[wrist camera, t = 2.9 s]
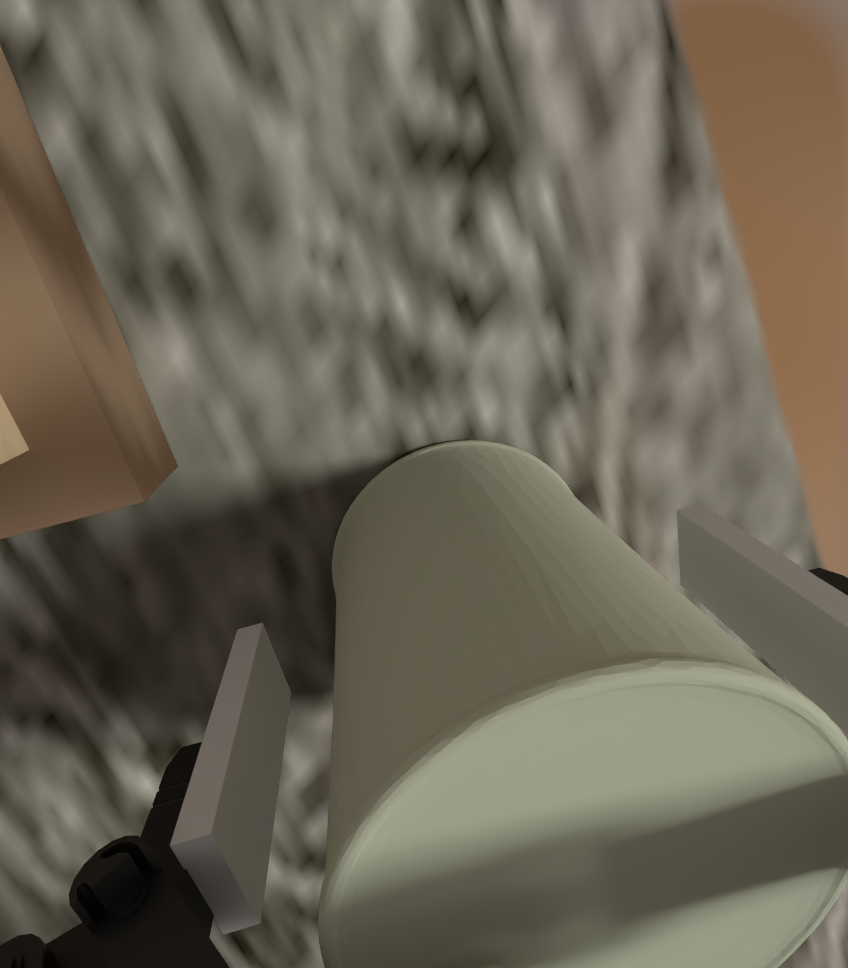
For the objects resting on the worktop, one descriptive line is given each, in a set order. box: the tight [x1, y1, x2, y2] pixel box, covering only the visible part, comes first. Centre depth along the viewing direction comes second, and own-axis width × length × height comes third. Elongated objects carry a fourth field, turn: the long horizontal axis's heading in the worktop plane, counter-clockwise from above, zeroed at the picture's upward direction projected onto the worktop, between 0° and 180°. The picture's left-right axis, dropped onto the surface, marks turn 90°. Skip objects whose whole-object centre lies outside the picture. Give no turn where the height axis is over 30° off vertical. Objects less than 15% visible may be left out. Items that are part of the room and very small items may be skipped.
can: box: [318, 440, 848, 968], centre depth 14 cm, size 9×9×12 cm
